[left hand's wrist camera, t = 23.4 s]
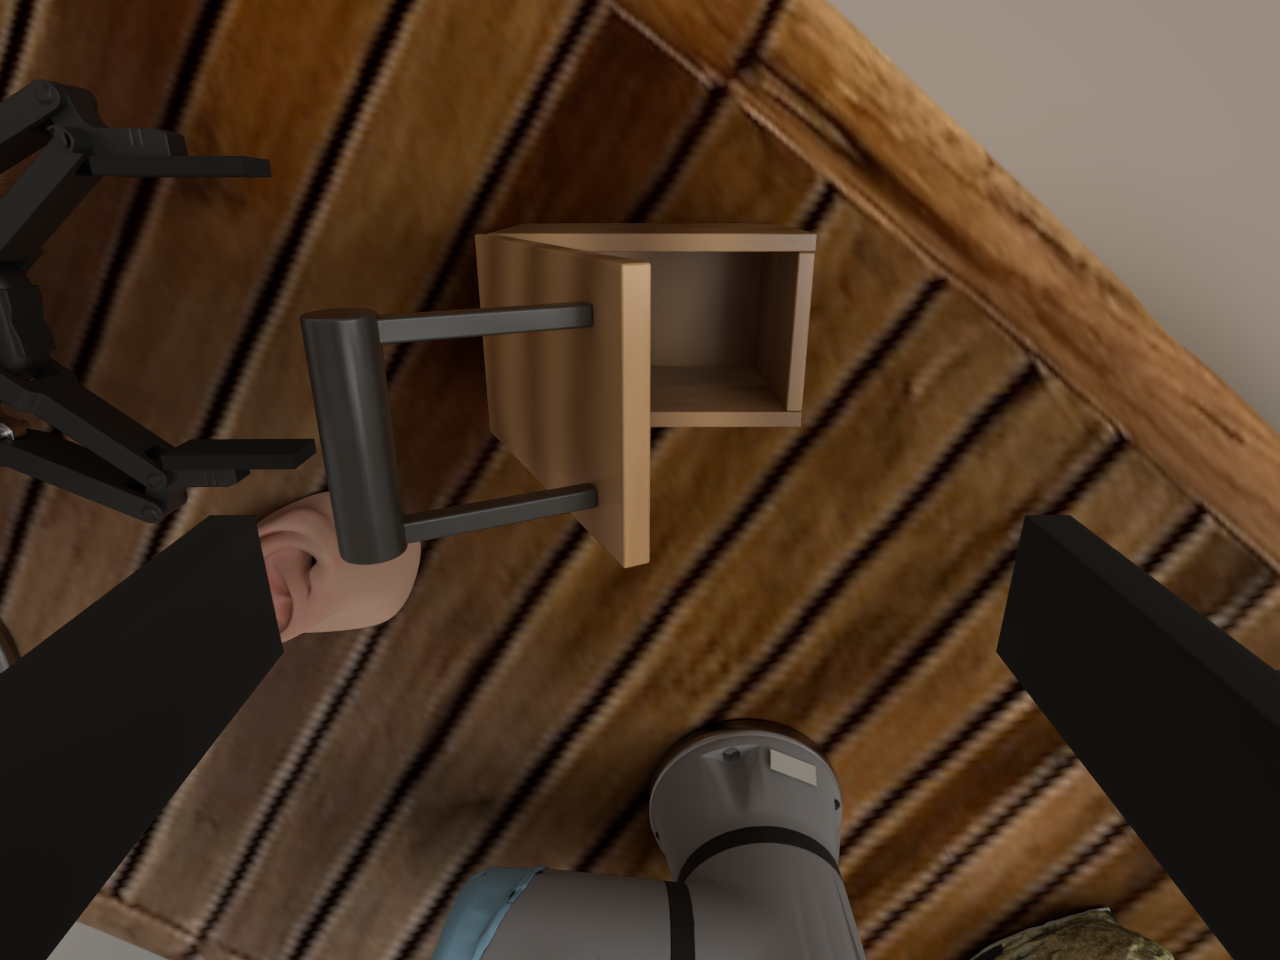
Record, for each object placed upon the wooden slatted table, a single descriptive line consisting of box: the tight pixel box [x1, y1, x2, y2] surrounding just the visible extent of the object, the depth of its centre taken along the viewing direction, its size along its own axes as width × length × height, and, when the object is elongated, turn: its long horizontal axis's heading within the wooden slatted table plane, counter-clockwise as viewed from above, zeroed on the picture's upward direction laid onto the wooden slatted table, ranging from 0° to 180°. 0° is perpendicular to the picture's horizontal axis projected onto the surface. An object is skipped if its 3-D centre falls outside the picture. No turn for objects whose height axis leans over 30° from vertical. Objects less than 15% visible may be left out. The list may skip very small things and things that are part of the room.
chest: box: [488, 223, 817, 427], centre depth 40 cm, size 15×9×11 cm, turn 90°
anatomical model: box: [257, 492, 421, 643], centre depth 50 cm, size 13×4×12 cm
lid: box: [300, 234, 651, 568], centre depth 26 cm, size 16×9×9 cm
